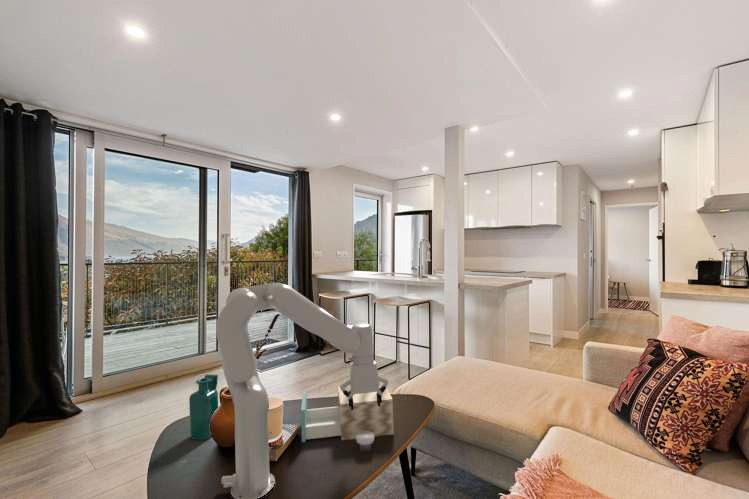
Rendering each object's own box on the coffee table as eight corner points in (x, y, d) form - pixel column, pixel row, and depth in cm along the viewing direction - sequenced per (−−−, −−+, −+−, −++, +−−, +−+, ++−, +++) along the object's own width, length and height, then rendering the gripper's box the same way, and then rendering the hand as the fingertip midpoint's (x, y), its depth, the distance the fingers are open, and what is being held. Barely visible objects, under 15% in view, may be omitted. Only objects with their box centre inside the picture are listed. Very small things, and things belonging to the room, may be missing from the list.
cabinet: (341, 440, 130) (340, 404, 130) (338, 418, 148) (337, 386, 148) (393, 434, 133) (392, 399, 133) (384, 413, 151) (383, 382, 151)
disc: (357, 445, 120) (357, 441, 120) (355, 436, 126) (355, 431, 126) (375, 443, 121) (375, 439, 121) (372, 434, 127) (372, 429, 127)
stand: (360, 453, 121) (360, 443, 121) (359, 447, 125) (359, 437, 125) (371, 452, 122) (371, 442, 122) (370, 446, 126) (370, 436, 126)
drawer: (301, 442, 128) (300, 410, 128) (303, 419, 145) (303, 391, 146) (355, 436, 131) (354, 404, 131) (351, 414, 149) (350, 386, 149)
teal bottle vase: (207, 441, 133) (205, 383, 133) (187, 439, 134) (186, 382, 135) (223, 428, 142) (221, 374, 143) (204, 426, 144) (203, 373, 144)
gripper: (339, 364, 119) (342, 414, 119) (388, 359, 121) (391, 408, 121) (338, 358, 126) (340, 405, 126) (384, 353, 129) (387, 399, 129)
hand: (365, 406), depth 124 cm, fingers open, 9 cm apart
